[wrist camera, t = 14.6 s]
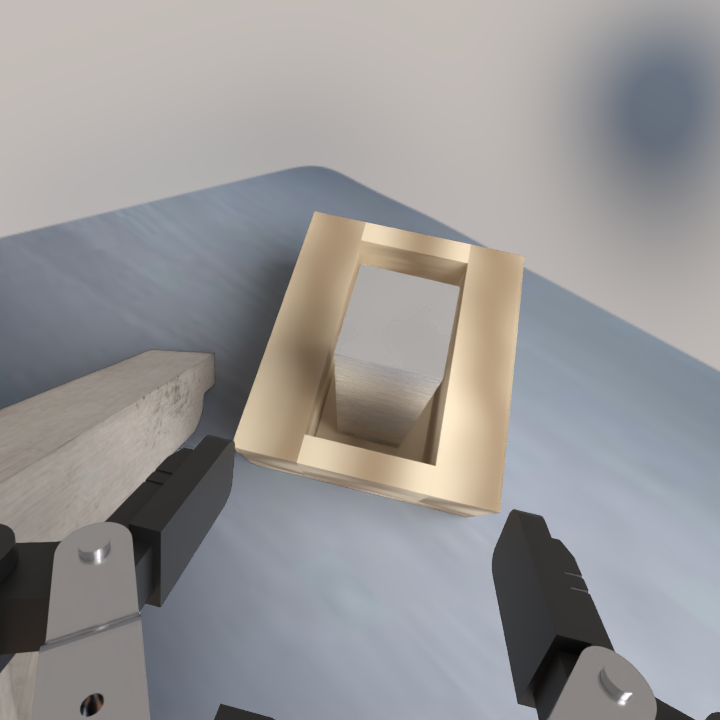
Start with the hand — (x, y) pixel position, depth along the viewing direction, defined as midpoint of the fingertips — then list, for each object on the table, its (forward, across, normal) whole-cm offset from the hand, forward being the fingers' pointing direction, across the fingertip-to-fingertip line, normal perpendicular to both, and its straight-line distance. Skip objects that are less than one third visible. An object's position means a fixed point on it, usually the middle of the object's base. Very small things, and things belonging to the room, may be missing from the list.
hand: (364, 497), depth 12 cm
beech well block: (+18, 0, +4) cm, 18 cm away
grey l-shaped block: (+17, 0, +3) cm, 17 cm away
